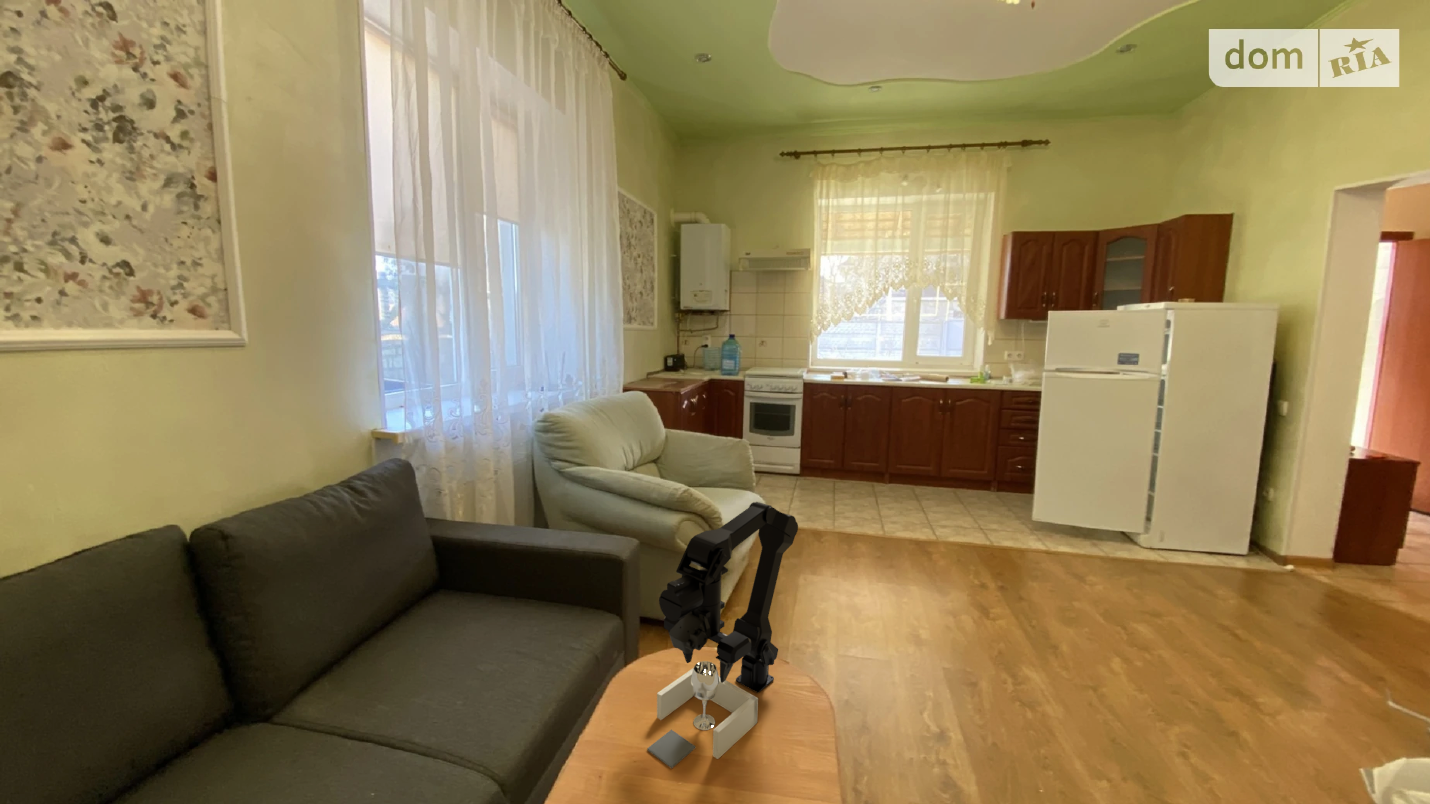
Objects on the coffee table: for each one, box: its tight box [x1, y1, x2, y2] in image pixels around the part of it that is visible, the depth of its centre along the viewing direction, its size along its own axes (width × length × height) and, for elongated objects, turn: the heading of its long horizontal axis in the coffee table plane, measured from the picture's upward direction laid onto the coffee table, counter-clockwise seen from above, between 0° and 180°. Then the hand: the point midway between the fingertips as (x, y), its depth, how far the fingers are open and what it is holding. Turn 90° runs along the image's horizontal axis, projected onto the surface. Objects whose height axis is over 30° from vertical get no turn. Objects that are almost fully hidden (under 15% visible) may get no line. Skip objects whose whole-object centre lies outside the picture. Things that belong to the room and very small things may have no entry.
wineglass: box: [691, 660, 720, 731], centre depth 110 cm, size 6×6×12 cm
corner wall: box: [656, 667, 759, 760], centre depth 111 cm, size 13×16×6 cm
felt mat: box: [646, 729, 696, 769], centre depth 103 cm, size 6×6×1 cm
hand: (705, 671), depth 109 cm, fingers open, 9 cm apart
